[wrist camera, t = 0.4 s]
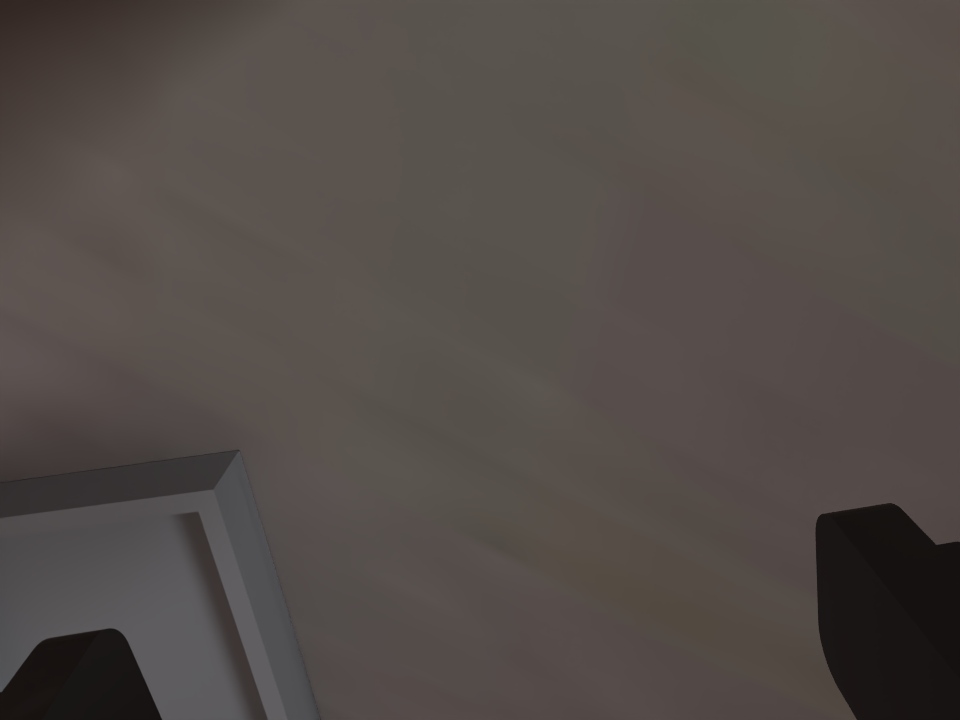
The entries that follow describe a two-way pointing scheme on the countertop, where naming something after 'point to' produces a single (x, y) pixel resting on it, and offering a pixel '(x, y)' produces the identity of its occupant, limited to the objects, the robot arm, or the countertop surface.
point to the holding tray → (156, 583)
